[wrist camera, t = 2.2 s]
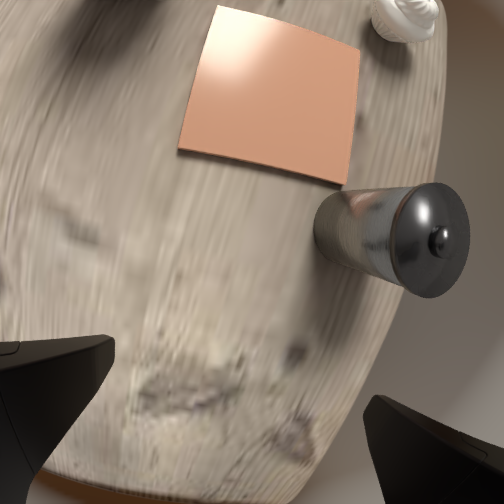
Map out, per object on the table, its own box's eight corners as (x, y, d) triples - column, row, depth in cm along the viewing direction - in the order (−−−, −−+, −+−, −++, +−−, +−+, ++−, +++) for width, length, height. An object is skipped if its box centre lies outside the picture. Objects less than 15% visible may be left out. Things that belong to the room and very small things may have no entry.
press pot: (304, 259, 22) (396, 298, 12) (319, 180, 22) (418, 166, 11) (369, 269, 24) (467, 304, 13) (381, 198, 23) (485, 199, 13)
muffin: (413, 29, 22) (457, 4, 15) (404, 66, 22) (455, 41, 15) (364, -6, 20) (404, -41, 13) (350, 28, 20) (395, -10, 14)
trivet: (177, 149, 19) (177, 147, 18) (216, 9, 18) (217, 5, 17) (342, 185, 22) (345, 185, 21) (356, 53, 21) (360, 50, 20)
